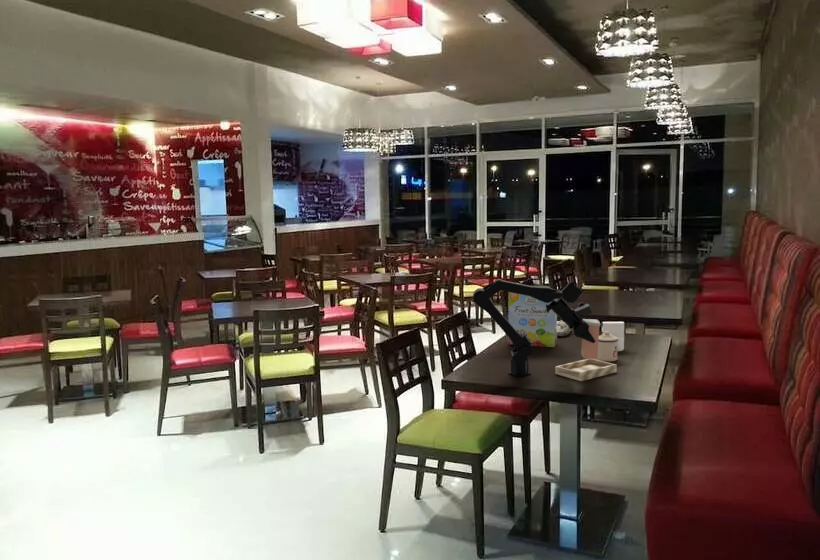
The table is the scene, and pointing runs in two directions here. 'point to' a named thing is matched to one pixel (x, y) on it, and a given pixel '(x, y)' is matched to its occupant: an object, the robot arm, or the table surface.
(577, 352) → the table surface
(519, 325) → the snack box
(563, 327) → the elongated rock
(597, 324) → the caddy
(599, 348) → the teacup with lid
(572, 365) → the tray
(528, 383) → the table surface
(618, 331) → the base with upright slab
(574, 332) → the robot arm
